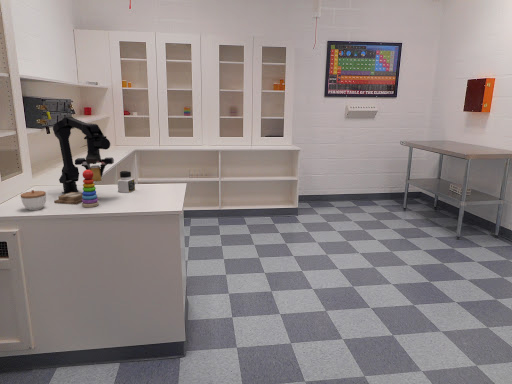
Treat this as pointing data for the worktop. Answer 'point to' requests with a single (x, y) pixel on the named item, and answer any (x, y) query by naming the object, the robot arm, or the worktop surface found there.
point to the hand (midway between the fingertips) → (96, 176)
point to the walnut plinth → (70, 198)
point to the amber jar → (96, 172)
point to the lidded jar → (34, 199)
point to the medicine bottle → (126, 182)
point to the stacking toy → (89, 190)
